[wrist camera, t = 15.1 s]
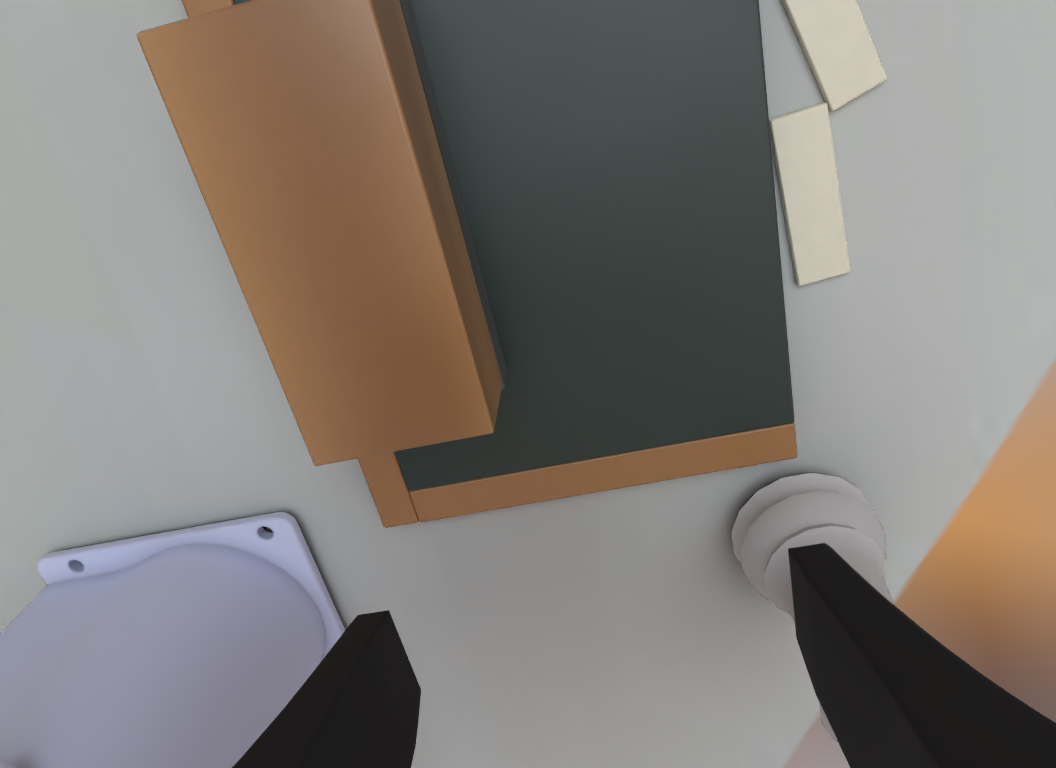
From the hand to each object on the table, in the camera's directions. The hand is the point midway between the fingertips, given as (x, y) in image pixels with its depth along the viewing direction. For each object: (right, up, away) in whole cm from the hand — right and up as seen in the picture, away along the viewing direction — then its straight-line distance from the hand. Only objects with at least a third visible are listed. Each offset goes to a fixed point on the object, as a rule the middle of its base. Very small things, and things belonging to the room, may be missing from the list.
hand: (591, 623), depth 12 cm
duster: (-5, +9, +6) cm, 11 cm away
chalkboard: (-2, +10, +6) cm, 11 cm away
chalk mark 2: (+6, +9, +6) cm, 13 cm away
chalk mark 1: (+6, +13, +4) cm, 15 cm away
